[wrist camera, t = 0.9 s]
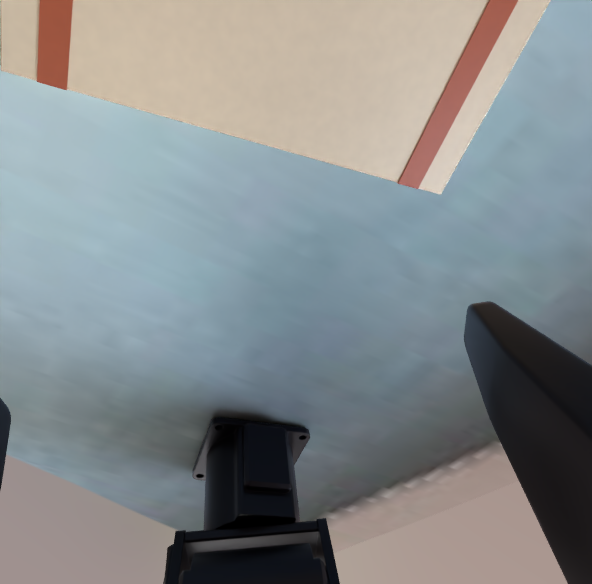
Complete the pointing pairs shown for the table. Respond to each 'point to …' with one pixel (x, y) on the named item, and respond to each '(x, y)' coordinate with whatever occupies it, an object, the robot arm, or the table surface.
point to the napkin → (289, 70)
